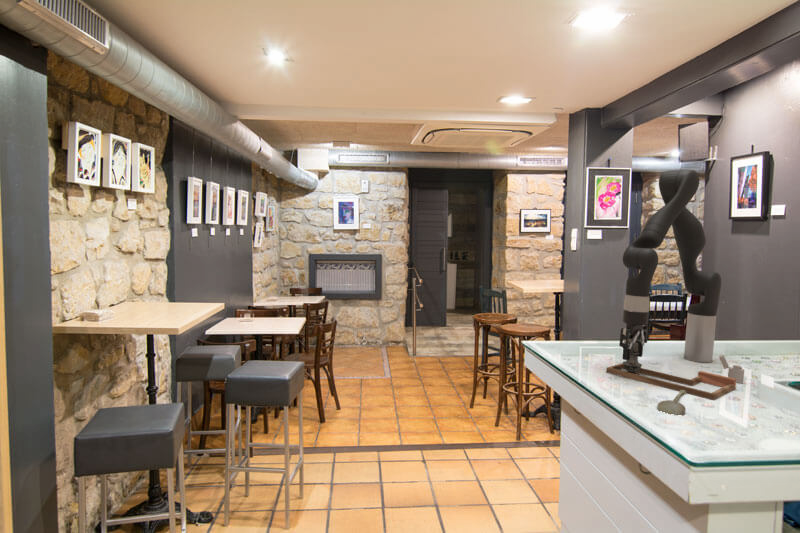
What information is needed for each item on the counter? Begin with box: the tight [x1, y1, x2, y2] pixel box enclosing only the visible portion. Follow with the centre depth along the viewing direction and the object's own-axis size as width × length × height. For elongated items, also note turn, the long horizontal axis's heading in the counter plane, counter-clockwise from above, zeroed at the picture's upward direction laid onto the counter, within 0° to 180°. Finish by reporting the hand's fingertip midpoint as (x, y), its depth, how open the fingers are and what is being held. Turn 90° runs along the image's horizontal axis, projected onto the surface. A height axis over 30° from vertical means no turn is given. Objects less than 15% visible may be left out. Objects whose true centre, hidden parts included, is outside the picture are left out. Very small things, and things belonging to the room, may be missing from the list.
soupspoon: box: [656, 390, 687, 416], centre depth 140 cm, size 22×3×7 cm
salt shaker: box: [622, 341, 643, 375], centre depth 166 cm, size 6×6×12 cm
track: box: [605, 362, 737, 401], centre depth 162 cm, size 18×32×3 cm, turn 40°
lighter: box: [718, 354, 745, 385], centre depth 163 cm, size 7×2×8 cm, turn 56°
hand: (632, 358), depth 166 cm, fingers open, 8 cm apart
